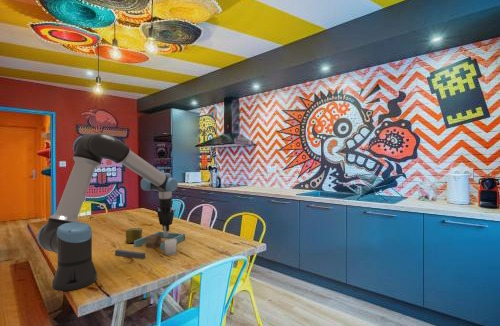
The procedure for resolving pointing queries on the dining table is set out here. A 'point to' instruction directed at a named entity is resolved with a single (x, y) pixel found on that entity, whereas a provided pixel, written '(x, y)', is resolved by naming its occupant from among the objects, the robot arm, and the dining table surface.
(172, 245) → the white rounded capsule
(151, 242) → the walnut block
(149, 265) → the dining table surface
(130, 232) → the mug
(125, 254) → the bar
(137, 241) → the teal u-shaped frame
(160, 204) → the robot arm
